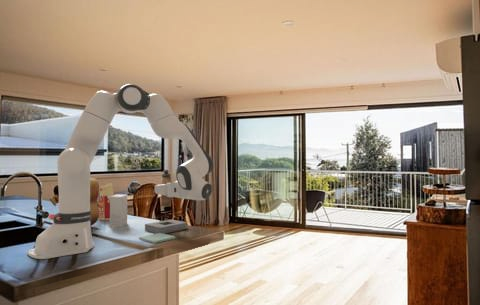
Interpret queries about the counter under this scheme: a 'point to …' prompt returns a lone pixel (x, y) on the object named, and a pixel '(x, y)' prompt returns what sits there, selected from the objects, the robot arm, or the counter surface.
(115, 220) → the skincare box
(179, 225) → the holder
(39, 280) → the counter surface
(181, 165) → the robot arm
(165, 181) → the pepper mill
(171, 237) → the plate
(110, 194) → the milk carton
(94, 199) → the butternut squash
